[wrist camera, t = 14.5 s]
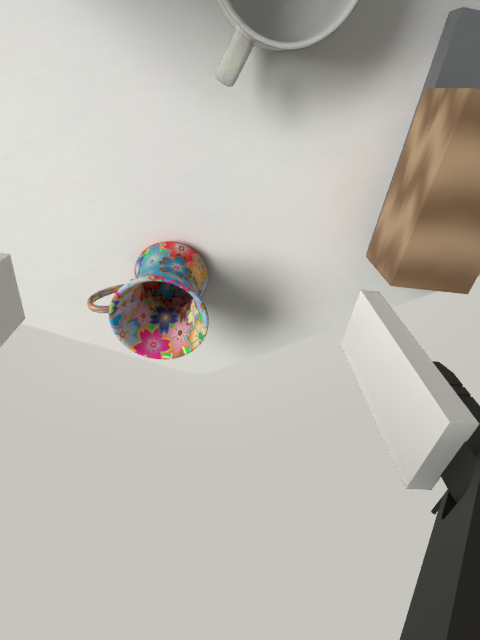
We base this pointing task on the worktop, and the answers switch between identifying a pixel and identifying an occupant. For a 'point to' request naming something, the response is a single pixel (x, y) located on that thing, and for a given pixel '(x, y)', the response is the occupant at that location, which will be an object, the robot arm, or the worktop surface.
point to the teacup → (276, 27)
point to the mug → (160, 303)
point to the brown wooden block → (434, 198)
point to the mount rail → (454, 59)
